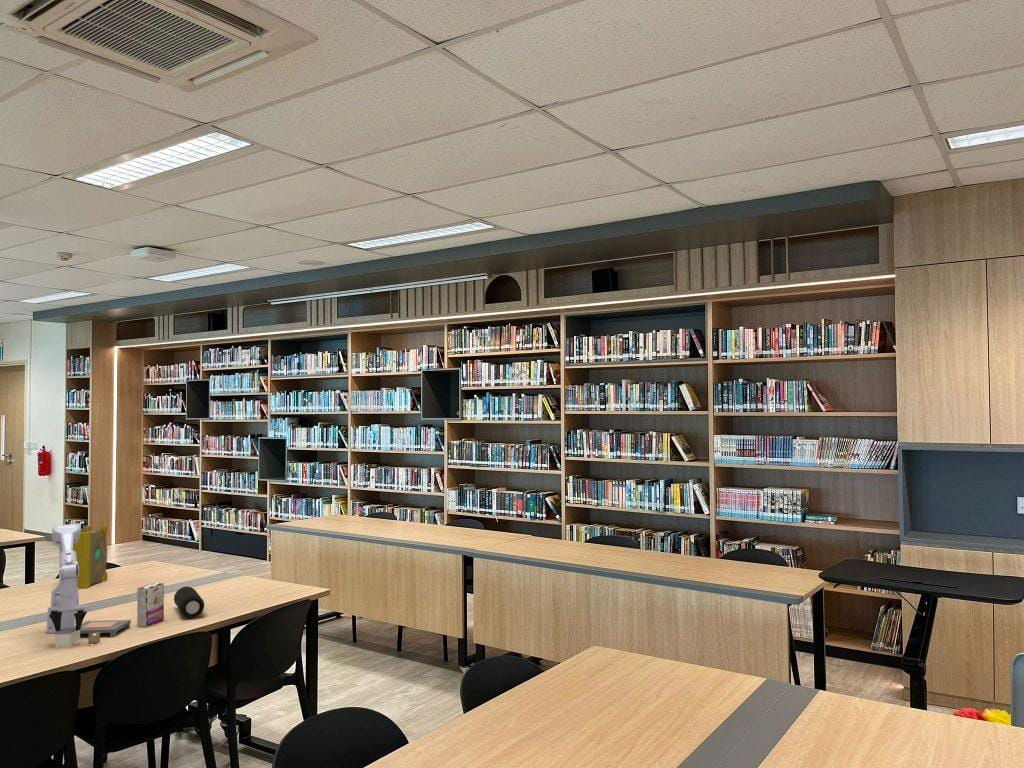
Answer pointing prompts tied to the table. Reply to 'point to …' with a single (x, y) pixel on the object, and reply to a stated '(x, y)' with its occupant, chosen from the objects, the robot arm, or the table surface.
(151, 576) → the table surface
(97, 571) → the decorative book
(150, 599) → the candy bar box
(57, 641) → the housing
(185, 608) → the portable speaker
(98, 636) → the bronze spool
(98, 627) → the stand
